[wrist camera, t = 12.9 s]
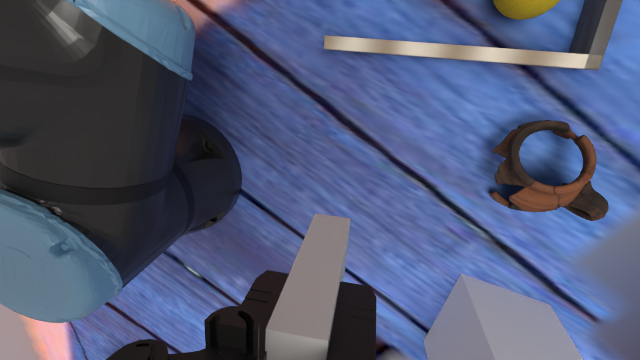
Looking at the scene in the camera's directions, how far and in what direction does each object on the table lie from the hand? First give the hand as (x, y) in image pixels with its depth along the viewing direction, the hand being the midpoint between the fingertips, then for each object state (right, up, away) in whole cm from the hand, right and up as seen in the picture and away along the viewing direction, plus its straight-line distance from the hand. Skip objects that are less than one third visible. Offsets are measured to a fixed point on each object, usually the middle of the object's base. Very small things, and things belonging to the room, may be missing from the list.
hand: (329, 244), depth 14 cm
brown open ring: (+23, +4, +23) cm, 33 cm away
